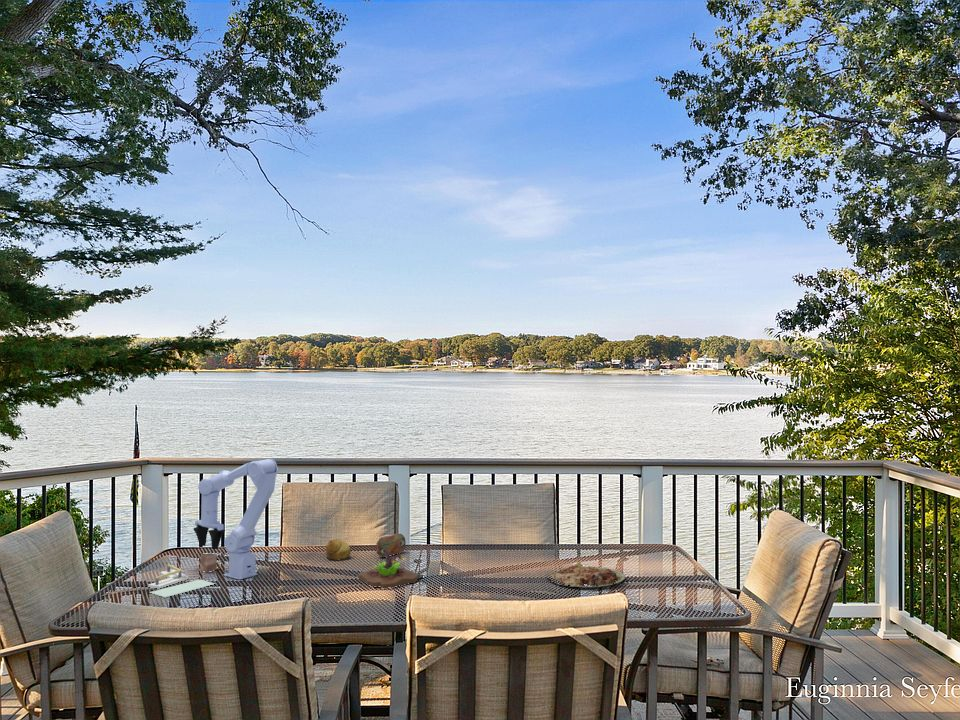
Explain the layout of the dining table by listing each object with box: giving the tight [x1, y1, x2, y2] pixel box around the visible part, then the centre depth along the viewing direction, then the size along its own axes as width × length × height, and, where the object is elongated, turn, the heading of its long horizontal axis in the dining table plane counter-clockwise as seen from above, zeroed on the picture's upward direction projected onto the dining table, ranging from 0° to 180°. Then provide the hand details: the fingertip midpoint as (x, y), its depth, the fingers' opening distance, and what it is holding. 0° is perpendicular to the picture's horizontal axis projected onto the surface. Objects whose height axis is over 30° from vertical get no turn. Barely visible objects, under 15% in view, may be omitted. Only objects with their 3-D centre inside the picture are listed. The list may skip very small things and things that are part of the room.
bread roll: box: [325, 539, 351, 561], centre depth 289 cm, size 13×10×8 cm
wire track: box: [147, 563, 190, 590], centre depth 253 cm, size 17×17×4 cm
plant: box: [357, 549, 420, 588], centre depth 256 cm, size 20×20×11 cm
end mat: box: [149, 579, 216, 599], centre depth 243 cm, size 9×19×1 cm, turn 146°
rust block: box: [199, 553, 218, 572], centre depth 266 cm, size 4×4×6 cm
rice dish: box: [547, 562, 626, 589], centre depth 259 cm, size 28×28×5 cm
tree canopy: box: [375, 533, 407, 558], centre depth 293 cm, size 15×3×8 cm, turn 143°
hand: (208, 547), depth 266 cm, fingers open, 7 cm apart
